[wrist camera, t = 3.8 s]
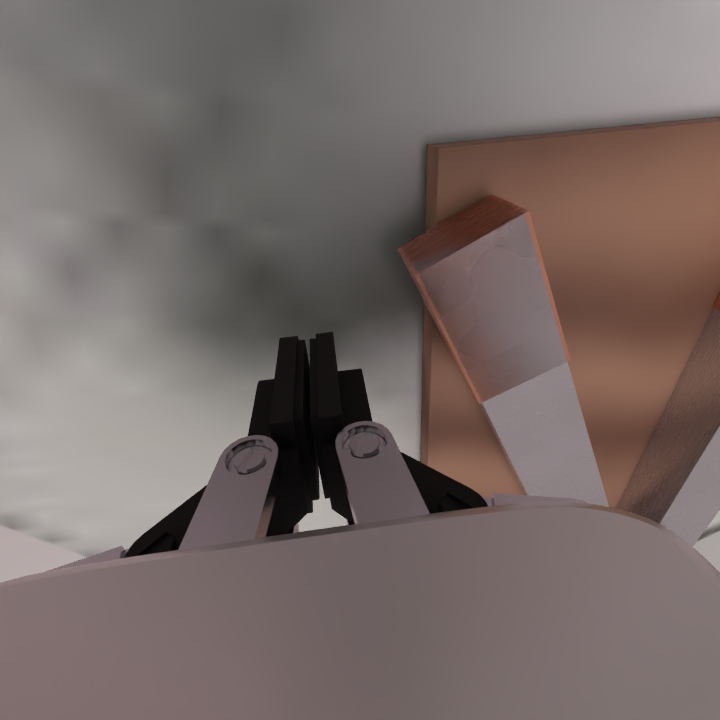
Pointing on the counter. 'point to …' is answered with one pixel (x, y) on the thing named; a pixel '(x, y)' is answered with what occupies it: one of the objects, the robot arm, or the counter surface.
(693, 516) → the tongs fixed
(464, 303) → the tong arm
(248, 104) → the counter surface
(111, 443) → the counter surface
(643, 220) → the walnut board
